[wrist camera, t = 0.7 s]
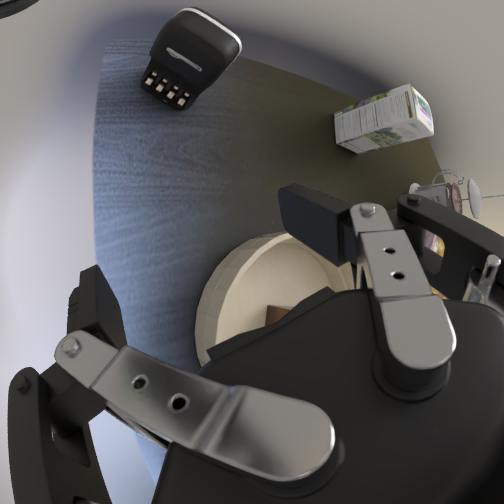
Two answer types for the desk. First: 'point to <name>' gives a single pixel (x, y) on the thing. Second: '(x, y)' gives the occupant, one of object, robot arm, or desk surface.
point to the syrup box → (384, 120)
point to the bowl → (261, 286)
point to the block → (276, 313)
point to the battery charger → (189, 57)
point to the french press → (451, 194)
